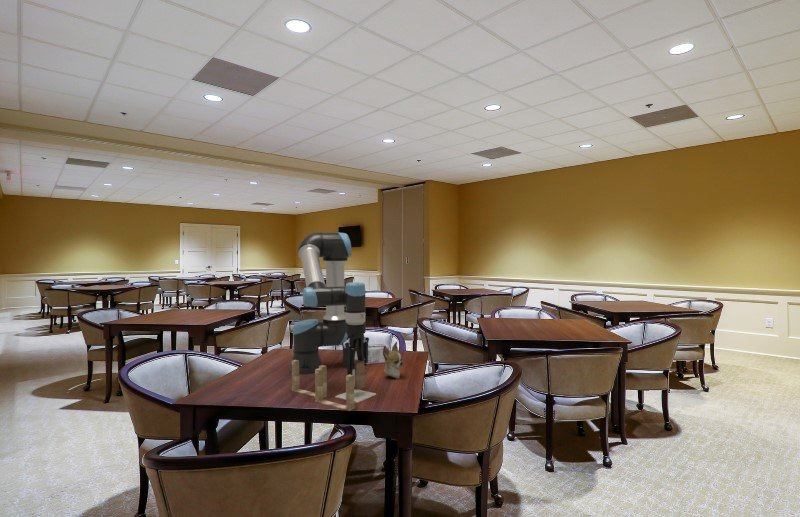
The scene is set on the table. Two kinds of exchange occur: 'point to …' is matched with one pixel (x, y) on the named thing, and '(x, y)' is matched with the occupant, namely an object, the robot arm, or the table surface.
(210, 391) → the table surface
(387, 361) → the ceramic sculpture
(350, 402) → the gate
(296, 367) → the gate
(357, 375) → the walnut block
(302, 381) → the table surface
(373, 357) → the gum box
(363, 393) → the pad
